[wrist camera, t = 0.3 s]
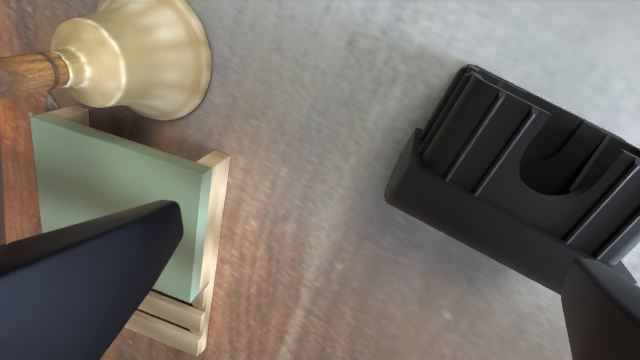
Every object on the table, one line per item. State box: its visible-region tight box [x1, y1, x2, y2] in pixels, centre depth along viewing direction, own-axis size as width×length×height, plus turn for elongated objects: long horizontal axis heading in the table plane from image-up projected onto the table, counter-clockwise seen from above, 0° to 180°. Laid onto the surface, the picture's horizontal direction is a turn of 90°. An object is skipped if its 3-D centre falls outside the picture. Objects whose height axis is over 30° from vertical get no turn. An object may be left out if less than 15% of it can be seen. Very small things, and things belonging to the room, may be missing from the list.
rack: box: [30, 105, 230, 357], centre depth 29 cm, size 18×12×4 cm, turn 167°
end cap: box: [384, 64, 640, 295], centre depth 19 cm, size 10×7×7 cm
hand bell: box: [0, 0, 212, 120], centre depth 18 cm, size 8×8×16 cm
